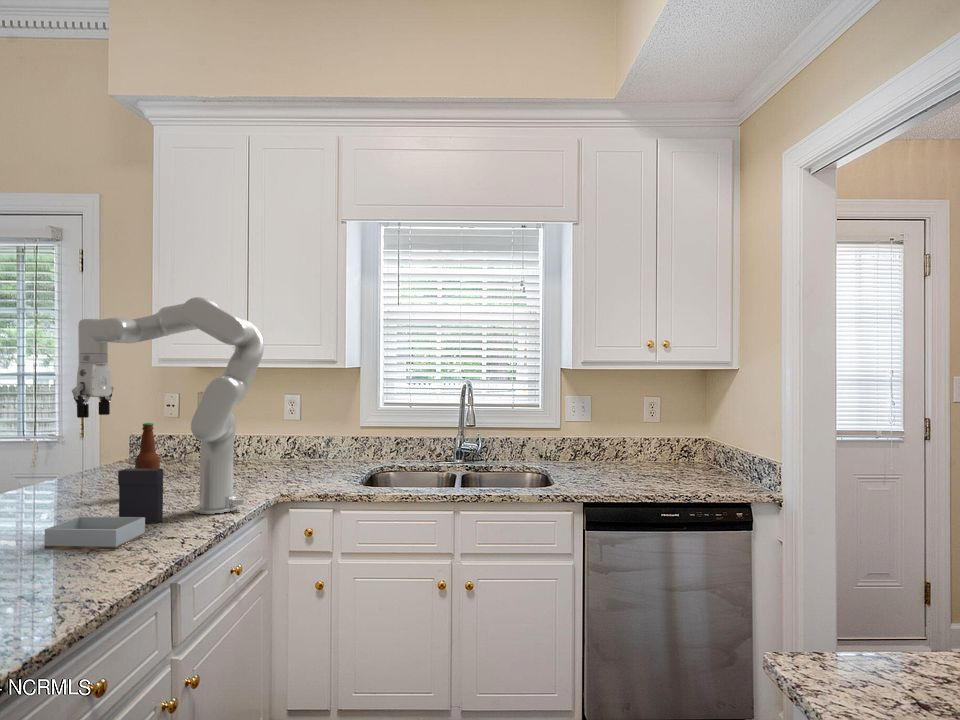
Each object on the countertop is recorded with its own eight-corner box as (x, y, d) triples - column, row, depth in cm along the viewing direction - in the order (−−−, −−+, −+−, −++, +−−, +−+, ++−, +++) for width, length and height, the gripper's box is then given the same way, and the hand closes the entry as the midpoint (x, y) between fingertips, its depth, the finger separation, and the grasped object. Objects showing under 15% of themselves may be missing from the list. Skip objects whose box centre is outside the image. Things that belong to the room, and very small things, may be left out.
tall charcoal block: (164, 519, 179) (164, 468, 179) (156, 523, 175) (157, 470, 175) (125, 519, 179) (126, 467, 179) (117, 523, 175) (117, 470, 175)
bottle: (153, 494, 212) (154, 421, 213) (163, 497, 208) (164, 423, 208) (130, 498, 207) (131, 423, 207) (140, 501, 202) (141, 424, 202)
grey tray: (144, 532, 163) (145, 517, 163) (116, 546, 151) (116, 530, 151) (78, 531, 164) (79, 516, 164) (44, 545, 151) (44, 529, 151)
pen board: (144, 535, 163) (144, 532, 163) (115, 550, 151) (116, 546, 151) (78, 534, 164) (78, 531, 164) (44, 548, 151) (44, 545, 151)
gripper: (86, 359, 179) (86, 418, 179) (122, 359, 197) (123, 413, 197) (60, 359, 180) (61, 418, 180) (99, 359, 197) (100, 413, 197)
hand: (93, 416), depth 188 cm, fingers open, 9 cm apart
